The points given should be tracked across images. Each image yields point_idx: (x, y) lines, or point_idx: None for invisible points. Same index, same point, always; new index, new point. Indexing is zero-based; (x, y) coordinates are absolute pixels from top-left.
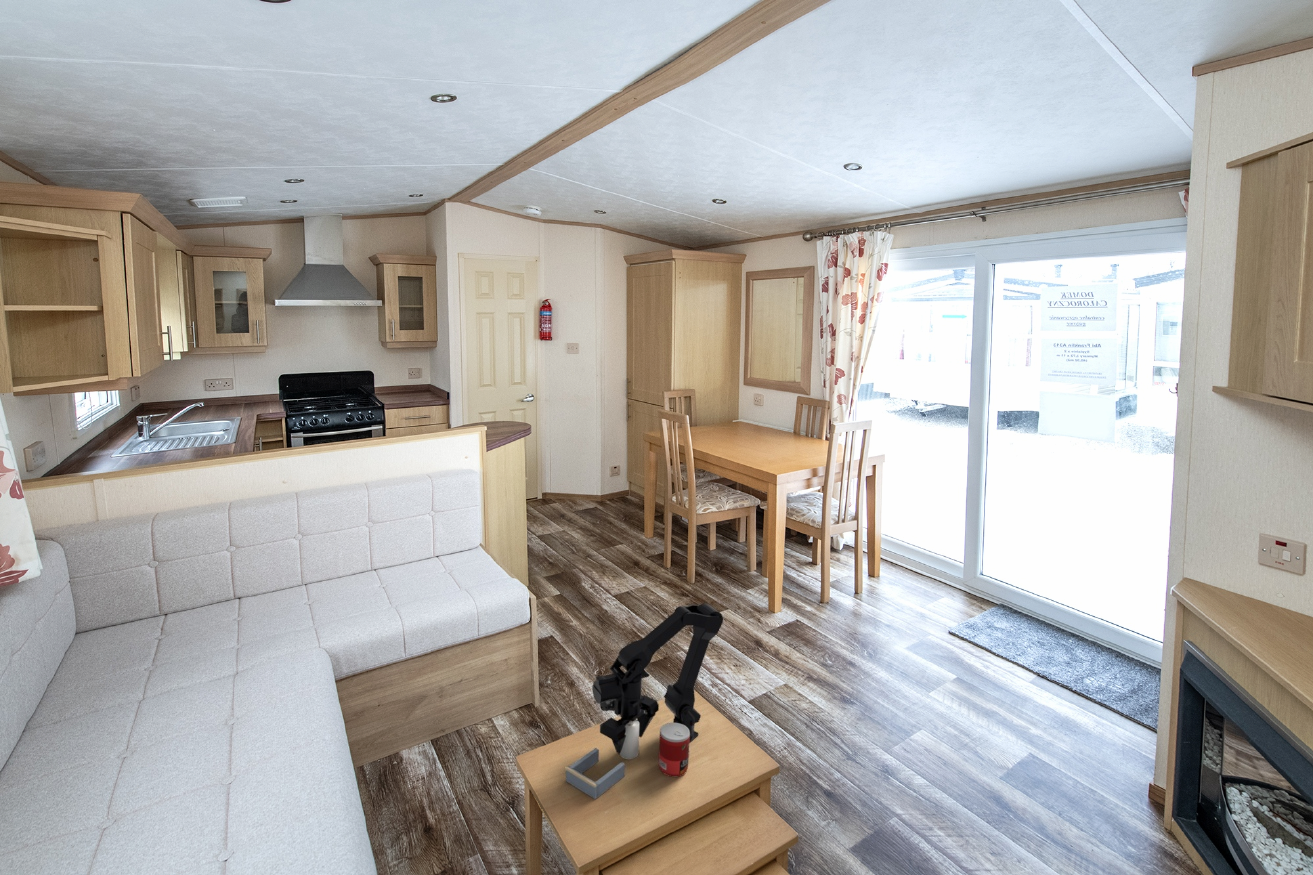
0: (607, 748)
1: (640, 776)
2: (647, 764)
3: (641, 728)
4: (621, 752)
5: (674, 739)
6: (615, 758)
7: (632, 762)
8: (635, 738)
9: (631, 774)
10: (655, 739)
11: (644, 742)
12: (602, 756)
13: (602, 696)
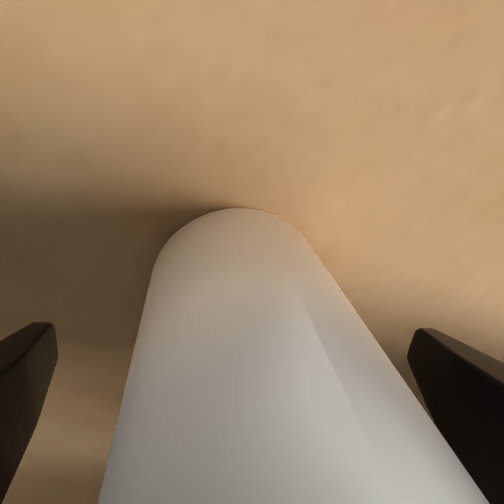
0: (158, 71)
1: (73, 480)
2: None
3: (480, 446)
4: (148, 288)
5: None
6: (91, 242)
7: None
8: None
9: (40, 437)
10: (484, 340)
11: (420, 303)
12: (8, 111)
13: None
